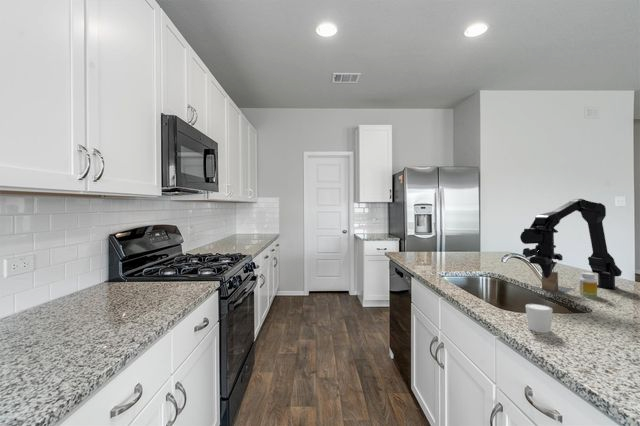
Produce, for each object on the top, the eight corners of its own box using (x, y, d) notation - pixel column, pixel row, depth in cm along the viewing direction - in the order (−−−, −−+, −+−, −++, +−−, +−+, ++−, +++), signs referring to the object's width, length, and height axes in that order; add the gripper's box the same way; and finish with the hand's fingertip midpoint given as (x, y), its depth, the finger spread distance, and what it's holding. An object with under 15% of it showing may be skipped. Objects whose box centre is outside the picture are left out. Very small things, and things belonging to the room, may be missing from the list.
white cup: (545, 335, 88) (545, 312, 88) (521, 327, 94) (520, 305, 94) (557, 330, 91) (557, 308, 91) (533, 323, 97) (532, 302, 97)
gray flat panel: (544, 284, 145) (544, 283, 145) (575, 289, 135) (575, 288, 135) (531, 288, 137) (531, 288, 137) (562, 294, 127) (562, 293, 127)
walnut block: (546, 287, 137) (546, 270, 137) (558, 289, 134) (557, 272, 134) (542, 289, 135) (541, 271, 135) (553, 291, 131) (553, 273, 131)
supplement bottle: (600, 298, 121) (600, 274, 121) (587, 298, 121) (587, 275, 121) (589, 294, 127) (588, 272, 127) (576, 294, 127) (576, 272, 127)
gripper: (534, 240, 144) (535, 272, 144) (515, 243, 134) (516, 277, 134) (562, 241, 134) (563, 275, 135) (544, 245, 124) (545, 282, 125)
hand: (546, 277), depth 132 cm, fingers closed
